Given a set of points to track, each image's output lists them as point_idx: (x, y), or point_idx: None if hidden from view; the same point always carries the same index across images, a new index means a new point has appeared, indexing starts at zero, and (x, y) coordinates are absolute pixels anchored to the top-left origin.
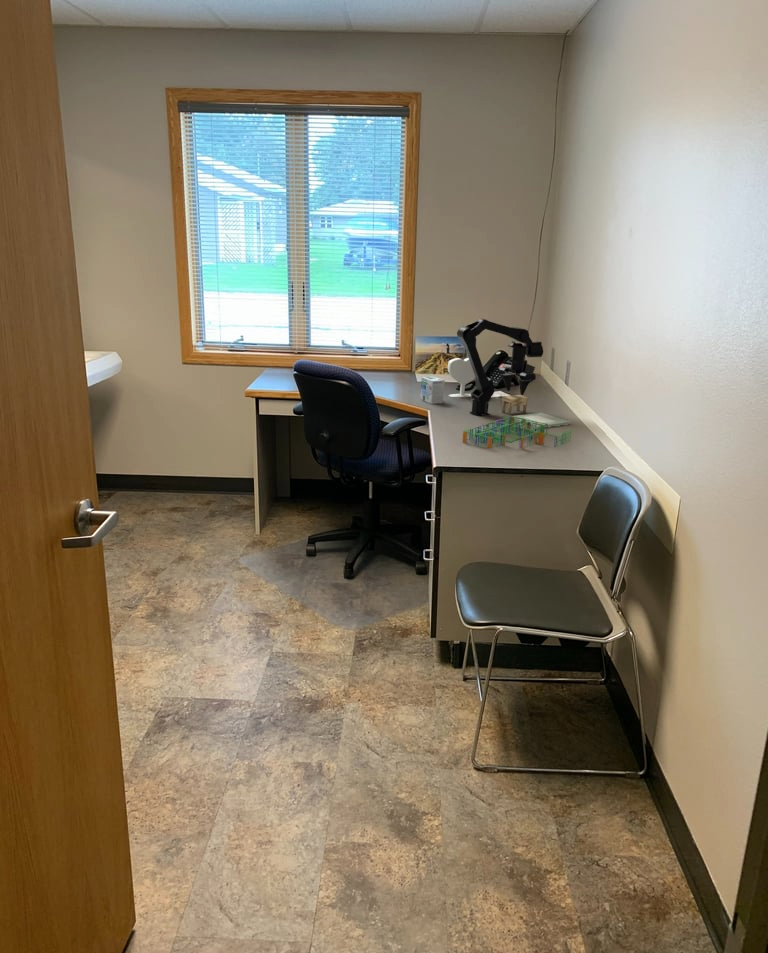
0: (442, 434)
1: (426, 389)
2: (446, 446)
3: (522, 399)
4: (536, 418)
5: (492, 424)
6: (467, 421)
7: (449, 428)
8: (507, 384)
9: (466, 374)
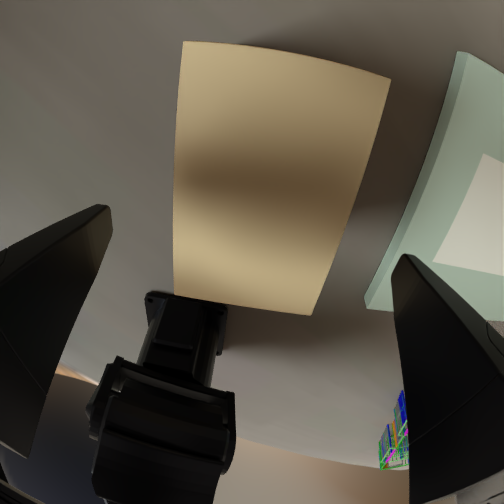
0: (316, 453)
1: None
2: (368, 461)
3: (359, 168)
4: (500, 231)
5: (401, 432)
6: (265, 401)
7: (292, 439)
8: (68, 309)
9: None
